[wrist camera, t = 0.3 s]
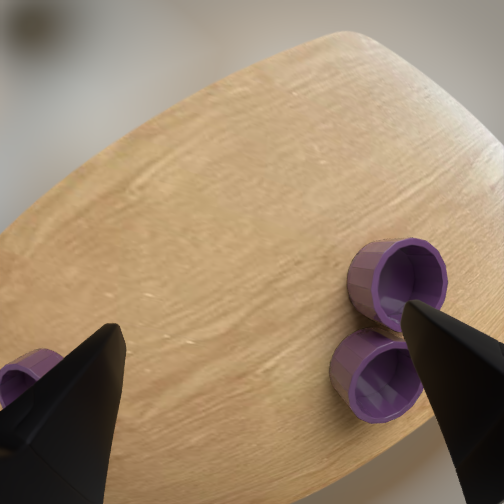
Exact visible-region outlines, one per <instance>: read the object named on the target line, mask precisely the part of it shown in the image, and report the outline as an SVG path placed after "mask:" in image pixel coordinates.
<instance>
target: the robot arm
mask: <svg viewBox="0 0 504 504" xmlns="http://www.w3.org/2000/svg"><path fill="white" fill-rule="evenodd" d="M400 327H401V330H402V333H403V336H404V339H405V342H406V344H407V347H408V350H409V353H410V356H411V359H412V362H413V365H414V367H415V370H416V372H417V374H418V376H419V379H420V381H421V383H422V385H423V388H424V390H425V392H426V395H427V397H428V399H429V402H430V404H431V406H432V409H433V411H434V414H435V416H436V419H437V421H438V424H439V426H440V429H441V431H442V434H443V436H444V439H445V442H446V444H447V447H448V450H449V452H450V455H451V458H452V461H453V464H454V466H455V468H456V473H457V476H458V478H459V482H460V485H461V488H462V491H463V494H464V497H465V500H466V503H467V504H502V503H503V502H504V344H503V343H501V342H499V341H498V340H496V339H494V338H492V337H490V336H488V335H486V334H484V333H482V332H480V331H479V330H477V329H475V328H473V327H471V326H469V325H467V324H465V323H463V322H461V321H459V320H457V319H455V318H453V317H451V316H449V315H447V314H446V313H444V312H442V311H440V310H438V309H436V308H434V307H432V306H430V305H428V304H426V303H424V302H422V301H420V300H410V301H407V302H406V303H405V306H404V310H403V313H402V317H401V321H400ZM125 357H126V343H125V340H124V338H123V335H122V332H121V329H120V326H119V325H118V324H116V323H107V324H105V325H103V326H102V327H101V328H100V329H98V330H97V331H96V332H95V333H93V334H92V335H91V336H90V337H89V338H87V339H86V340H85V341H84V342H83V343H81V344H80V345H79V346H78V347H77V348H75V349H74V350H73V351H72V352H71V353H69V354H68V355H67V356H66V357H65V358H63V359H62V360H61V361H60V362H59V363H58V364H56V365H55V366H54V367H53V368H52V369H50V370H49V371H48V372H47V373H46V374H45V375H43V376H42V377H41V378H40V379H39V380H38V381H36V382H35V383H34V384H33V386H31V387H29V388H28V389H27V390H26V391H25V392H24V393H22V394H21V395H20V396H19V397H18V398H16V399H15V400H14V401H13V402H12V403H10V404H9V405H8V406H6V407H5V408H4V409H2V410H1V411H0V504H103V499H104V492H105V484H106V477H107V470H108V464H109V458H110V452H111V446H112V440H113V434H114V429H115V424H116V419H117V414H118V409H119V404H120V399H121V394H122V386H123V376H124V366H125Z"/></svg>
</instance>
